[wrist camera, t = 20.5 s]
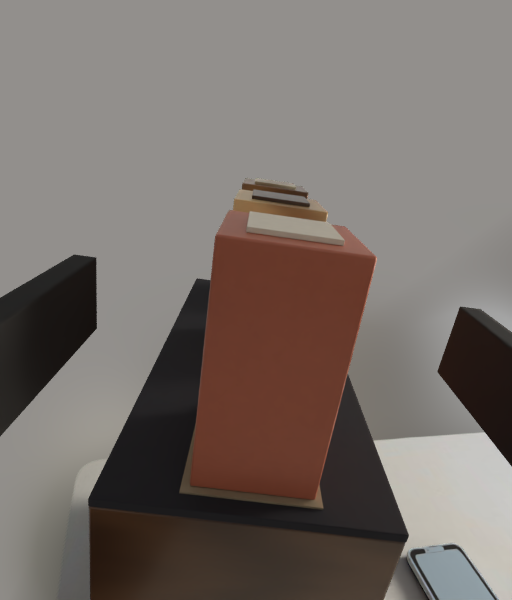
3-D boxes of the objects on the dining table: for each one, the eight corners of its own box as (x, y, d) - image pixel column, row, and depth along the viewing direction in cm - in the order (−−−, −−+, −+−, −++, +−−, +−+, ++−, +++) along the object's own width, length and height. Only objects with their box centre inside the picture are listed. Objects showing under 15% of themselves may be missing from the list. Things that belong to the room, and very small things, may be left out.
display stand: (93, 840, 25) (87, 506, 15) (177, 496, 49) (196, 282, 39) (285, 856, 25) (406, 543, 15) (273, 507, 49) (317, 298, 39)
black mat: (87, 506, 15) (87, 496, 14) (196, 282, 39) (196, 277, 39) (406, 543, 15) (410, 533, 15) (317, 298, 39) (318, 293, 39)
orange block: (188, 486, 16) (216, 227, 12) (206, 408, 20) (228, 204, 17) (315, 501, 16) (380, 250, 12) (303, 420, 20) (347, 221, 17)
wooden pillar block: (215, 364, 24) (234, 194, 21) (222, 329, 29) (239, 185, 25) (295, 374, 25) (328, 208, 21) (290, 338, 29) (316, 197, 26)
